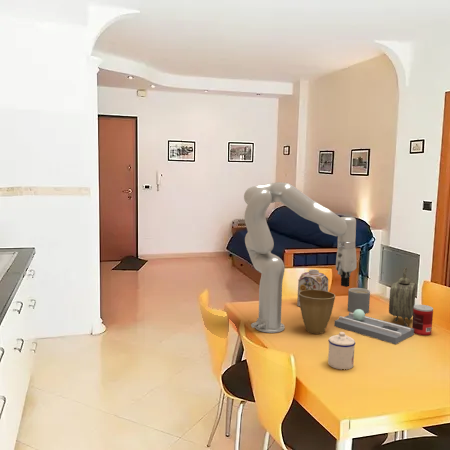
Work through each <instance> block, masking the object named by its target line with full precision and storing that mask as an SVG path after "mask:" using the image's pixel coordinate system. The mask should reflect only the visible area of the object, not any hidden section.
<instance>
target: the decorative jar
mask: <svg viewBox="0 0 450 450" xmlns="http://www.w3.org/2000/svg"><path fill="white" fill-rule="evenodd" d="M319 271H320V270H318V269H315V268H314V269H309V270H308V271H306V272H305V271H304V272H302V273H301V275H300V276H299V279H298V285H297V304H296V305H297V307H300V300H299V292H300V291H303V290H322V291H328V292H329V278H328V276H327V275H326V274H324V273H322V272H319Z"/></svg>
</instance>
